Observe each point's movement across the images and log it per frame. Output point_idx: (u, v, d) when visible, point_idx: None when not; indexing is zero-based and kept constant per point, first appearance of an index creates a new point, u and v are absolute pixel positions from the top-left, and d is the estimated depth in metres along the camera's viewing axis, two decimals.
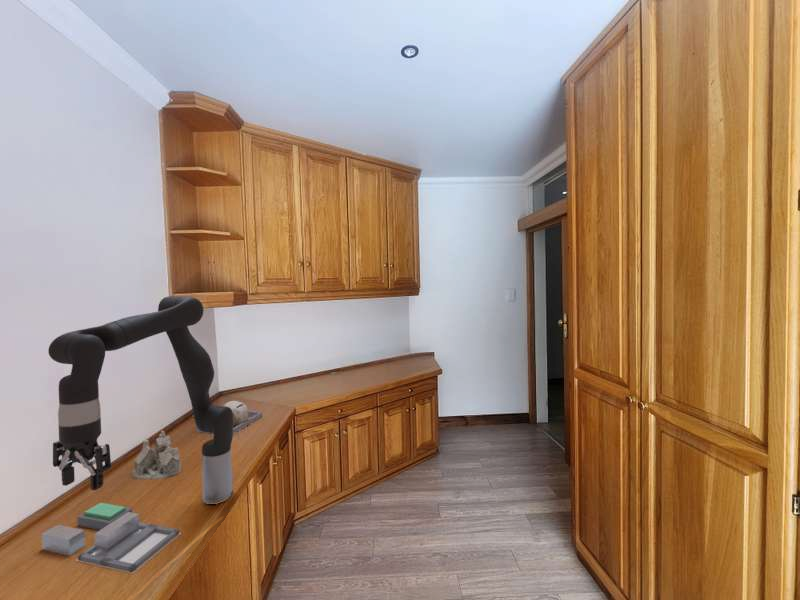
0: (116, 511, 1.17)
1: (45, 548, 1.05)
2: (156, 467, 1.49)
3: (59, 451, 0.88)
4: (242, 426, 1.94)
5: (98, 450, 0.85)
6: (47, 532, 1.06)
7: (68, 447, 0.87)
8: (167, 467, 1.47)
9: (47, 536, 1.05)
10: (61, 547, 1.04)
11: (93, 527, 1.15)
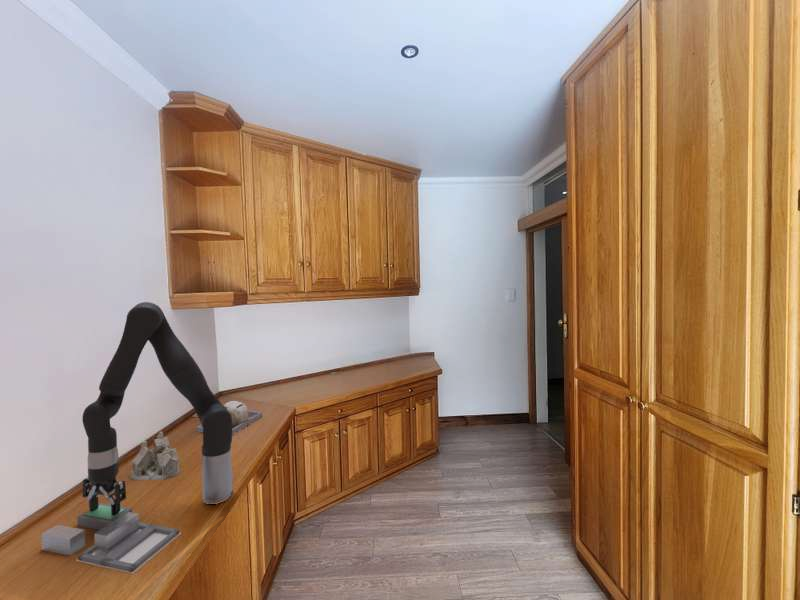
0: None
1: (45, 548, 1.05)
2: (154, 468, 1.48)
3: (87, 485, 1.18)
4: (242, 426, 1.94)
5: (117, 486, 1.15)
6: (47, 532, 1.06)
7: (94, 483, 1.17)
8: (166, 468, 1.46)
9: (47, 537, 1.05)
10: (61, 547, 1.04)
11: (93, 527, 1.15)
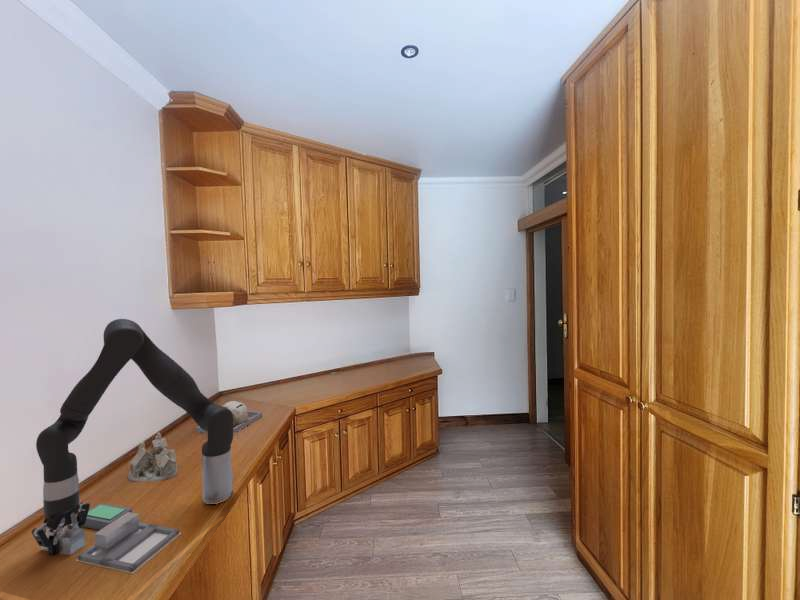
0: (116, 513, 1.17)
1: (44, 548, 1.05)
2: (152, 469, 1.47)
3: (79, 511, 1.11)
4: (242, 426, 1.94)
5: None
6: None
7: None
8: (164, 469, 1.45)
9: (47, 536, 1.05)
10: (61, 546, 1.04)
11: (93, 527, 1.15)
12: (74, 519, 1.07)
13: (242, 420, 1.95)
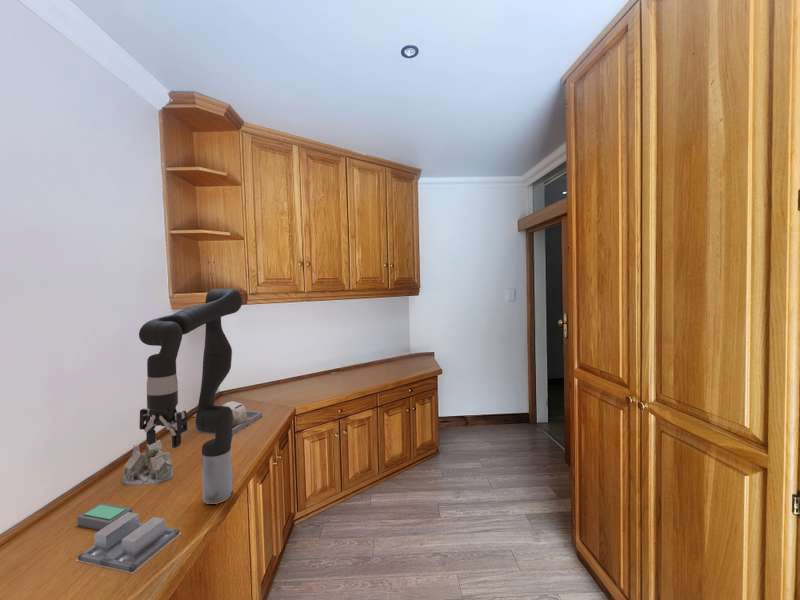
0: (116, 513, 1.17)
1: (138, 553, 1.02)
2: (147, 472, 1.45)
3: (144, 417, 1.08)
4: (242, 426, 1.94)
5: (179, 415, 1.05)
6: (134, 538, 1.02)
7: (153, 413, 1.07)
8: (159, 472, 1.43)
9: (141, 538, 1.03)
10: (156, 534, 1.08)
11: (93, 527, 1.15)
12: None
13: (241, 421, 1.95)
